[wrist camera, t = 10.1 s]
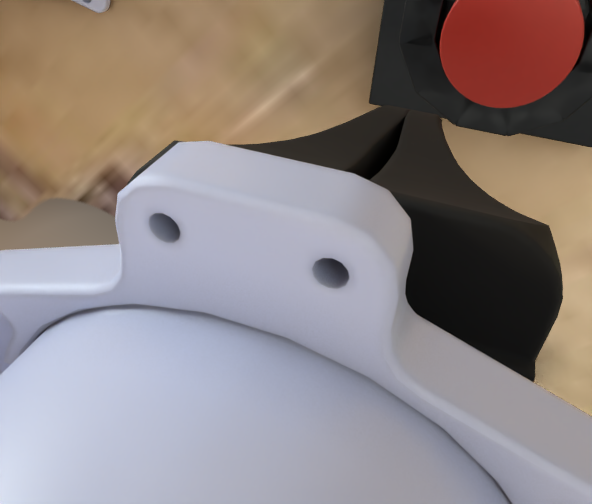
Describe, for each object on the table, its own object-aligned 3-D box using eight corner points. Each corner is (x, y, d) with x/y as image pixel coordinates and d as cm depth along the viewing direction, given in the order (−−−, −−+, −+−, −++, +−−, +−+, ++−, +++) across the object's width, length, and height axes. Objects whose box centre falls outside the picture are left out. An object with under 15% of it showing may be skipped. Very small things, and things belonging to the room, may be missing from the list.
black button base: (374, 94, 23) (356, 121, 20) (411, -139, 18) (392, -137, 15) (601, 137, 21) (609, 173, 18) (715, -113, 16) (744, -106, 13)
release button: (434, 78, 19) (427, 95, 18) (463, -50, 16) (457, -41, 15) (553, 100, 18) (554, 120, 17) (603, -33, 15) (608, -21, 14)
